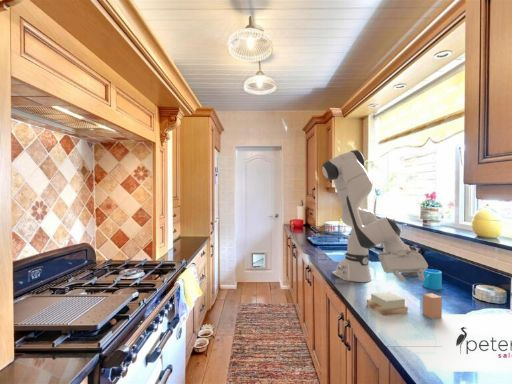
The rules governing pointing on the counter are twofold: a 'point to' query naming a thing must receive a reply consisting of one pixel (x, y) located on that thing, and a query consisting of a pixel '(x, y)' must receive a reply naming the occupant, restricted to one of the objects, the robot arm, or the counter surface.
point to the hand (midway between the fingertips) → (412, 280)
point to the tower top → (387, 300)
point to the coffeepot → (413, 272)
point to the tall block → (432, 306)
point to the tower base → (386, 311)
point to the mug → (432, 279)
